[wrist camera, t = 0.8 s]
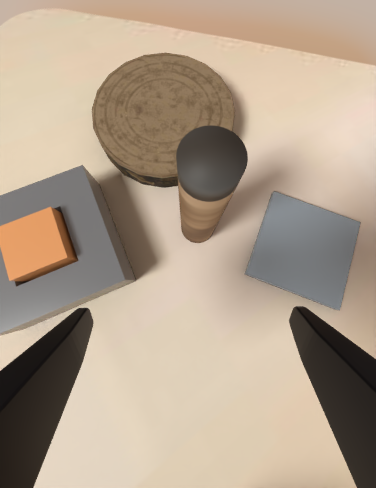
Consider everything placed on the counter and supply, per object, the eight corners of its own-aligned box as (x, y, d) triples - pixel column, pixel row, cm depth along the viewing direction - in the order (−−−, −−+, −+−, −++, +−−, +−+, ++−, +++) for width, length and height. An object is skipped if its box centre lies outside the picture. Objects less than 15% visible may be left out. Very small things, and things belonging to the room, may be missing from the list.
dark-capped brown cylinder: (218, 235, 23) (259, 173, 10) (189, 247, 23) (193, 200, 10) (205, 207, 24) (228, 116, 11) (176, 219, 23) (165, 139, 11)
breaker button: (84, 261, 20) (67, 257, 17) (35, 281, 20) (9, 281, 17) (69, 217, 21) (50, 206, 18) (22, 236, 21) (-5, 227, 18)
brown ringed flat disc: (227, 78, 28) (232, 53, 25) (231, 189, 24) (237, 176, 22) (107, 76, 27) (98, 51, 24) (96, 188, 24) (84, 174, 21)
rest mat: (356, 223, 23) (360, 222, 23) (335, 309, 22) (339, 310, 21) (271, 193, 24) (274, 191, 23) (244, 274, 22) (246, 273, 22)
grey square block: (136, 280, 22) (125, 279, 18) (24, 328, 21) (-13, 338, 17) (99, 184, 24) (82, 165, 20) (-4, 224, 23) (-43, 211, 19)
